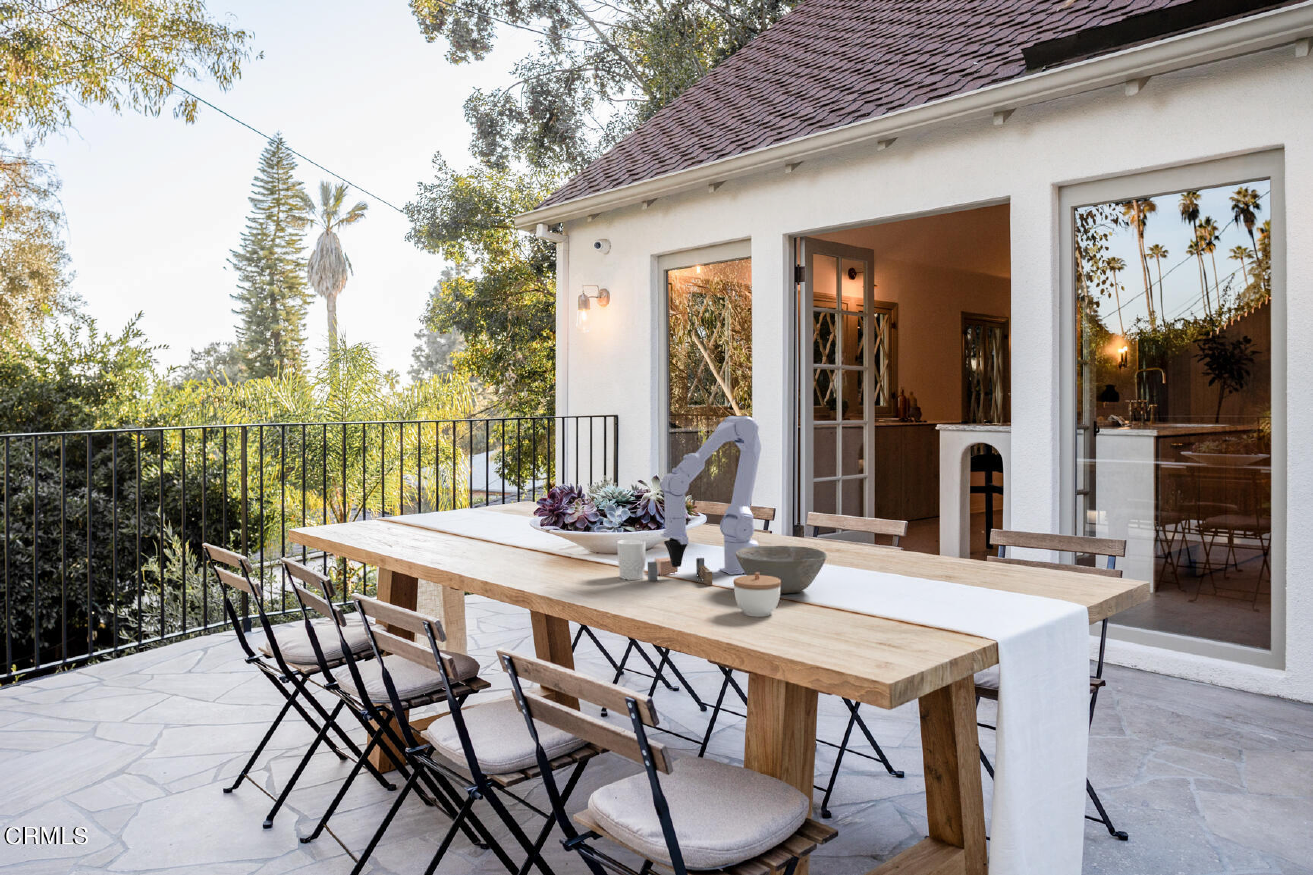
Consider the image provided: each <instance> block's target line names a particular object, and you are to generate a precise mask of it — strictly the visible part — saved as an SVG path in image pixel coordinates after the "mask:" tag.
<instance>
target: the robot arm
mask: <svg viewBox="0 0 1313 875" xmlns="http://www.w3.org/2000/svg"><path fill="white" fill-rule="evenodd" d="M759 427H760V426H759V425H758V423H757V422H756V421H755V420H754V419H753V418H752V417H751V416H748V415H747V416H746V415H744V416H736V415H729V416H727V417H725V418H724V419H723V421H722V422H720V423H719V424H718V425H717V427H716V428H715V430H714V431H713V432H712V433H711V434H710V436H709V437H708V438H707V439H706V440H705V441H704V443H703V444H702V445H701V446H700V447H699V449H698V450H697V451H696V452H695V453H694V452H692V453H691V452H690V453H688V454H685V455H684V456H683V457H682V458H683V460H682V461H681V462H680V463H679V464H678V465H677V466H676V467H673V468H672V469H671V472H669V473H667V474H665V475H664V476H663V478H662V481H661V483H660V484H659V485H660V489H661V491H662V492H663V493H664V494H663V495H664V496H663V497H664V529H663V533H660V536H661V537H662V538H669V539H668V540H664V541H663V543H664V546H665V547H666V549H667V552H668V556H669V557H670V560H671V564H672V566H673V567H678V568H679V567H681V566H682V562H683V557H684V554H685V551H686V548H687V546H688V544H689V536H688V532H687V518H686V517H687V515H686V512H687V511H686V493H687V492H688V491H689V487H690V484H691V482H693V481H694V480H695V478H696V477H697V476H698V475H699V474H700V473H701V472H702V471H703V470H704V469H705V466H706V461H707V460H708V459H709V458H710V457H711V456H712V455H713V454H714V453H715V452H716V451H718V450H719V448H720V447H722V446H723V445H724V443H727V442H734V443H735V445H736V446H737V447H738V449H739V450H740V455H739V460H738V466H737V470H736V475H735V481H734V487H733V491H732V498H731V504H730V505H729V506H728V508H726V509H725V512H724V515H723V517H722V519H721V520H720V524H719V530H720V532H721V534H722V535H723V540H724V541H723V549H724V550H723V551H724V552H723V553H724V556H723V557H724V563H723V564H724V565H723V566H724V567H719V568H718V569H719V571H722V572H723V573H725V572H726V573H725V574H727V573H728V575H733V576H734V575H741V574H743V573H744V574H746V573H745V572H744V570H743V569H742V567H741V565H740V563H739V561H738V559H737V557H736V555H735V552H736V551H737V550H739V549H743V548H750V547H757V546H759V544H758V541H757V540H755V539H751V538H752V537H753V535H754V532H755V526H754V513H753V512H752V511H751V504H752V498H753V493H754V487H755V483H756V482H755V481H756V476H757V473H758V472H757V471H758V465H759V461H760V455H761V450H762V449H761V448H762V446H761V441H760V436H759Z"/></svg>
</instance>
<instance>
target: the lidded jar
mask: <svg viewBox="0 0 1313 875" xmlns="http://www.w3.org/2000/svg"><path fill="white" fill-rule="evenodd" d="M780 585H781V580H780V579H779V578H776V577H772V576H764V575H759V573H758V572H756V573H755V575H749V576H747V575H741V576H738V577H737V576H736V577H735V578H734V579H733V588H734V591H733V592H734V597H735V602H736V605H737V607H738V608H739V609H740V610H741V611H742V612H743V614H744V616H749V617H753V618H755V617H756V618H759V617H761V618H762V617H768V616H771V615H772V612H774V610H776V608H777V606H778V604H779V602H780V597H781V594H780Z"/></svg>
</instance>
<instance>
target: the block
mask: <svg viewBox="0 0 1313 875" xmlns="http://www.w3.org/2000/svg"><path fill="white" fill-rule="evenodd" d="M654 561H655V562H657V570H659V574H660V576H666V575H665V574H670V573H675V572H678V570H679V569H678V568H679V567H673V566H672V564H671V560H670V556H669V557H658V558H655V559H654ZM678 573H679V572H678Z"/></svg>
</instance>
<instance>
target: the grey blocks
mask: <svg viewBox="0 0 1313 875" xmlns="http://www.w3.org/2000/svg"><path fill="white" fill-rule="evenodd" d="M695 563H696V564H695V565H696V567H695V568H696V569H695V570H696V574H695V575H696V576H697V575H698V576H700V565H704V566H705V558H704V557H696V559H695ZM658 576H659V570H657V562H655V560H654V561H647V581H649V582H658Z"/></svg>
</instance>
